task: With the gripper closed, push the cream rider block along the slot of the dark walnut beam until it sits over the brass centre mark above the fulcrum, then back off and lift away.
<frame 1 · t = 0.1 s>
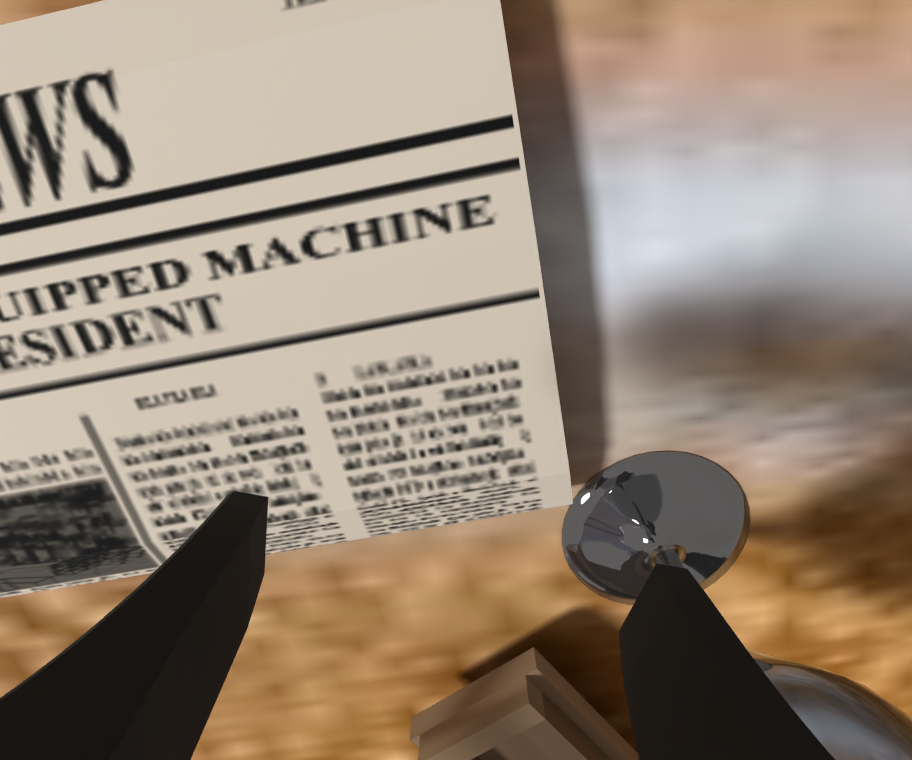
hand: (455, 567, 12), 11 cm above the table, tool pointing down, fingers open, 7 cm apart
wine glass: (653, 529, 24), on the table
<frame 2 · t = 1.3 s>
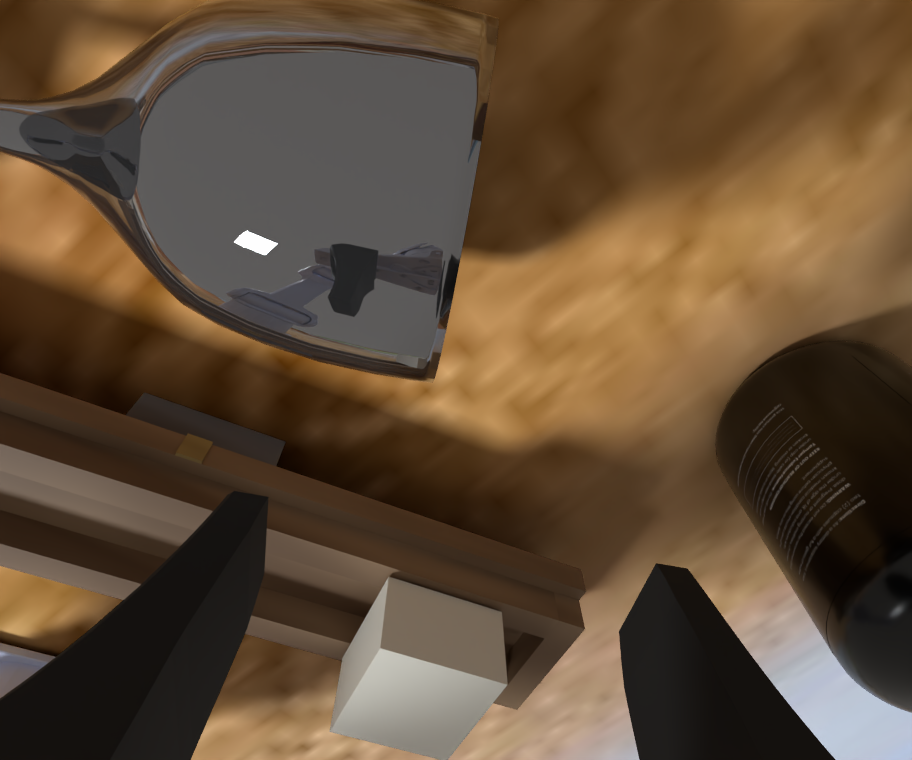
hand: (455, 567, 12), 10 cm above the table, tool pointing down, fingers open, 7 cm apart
rider: (418, 653, 21), point 5 cm above the table, slide at -9.0 cm
beam: (200, 469, 23), on the table
supplement bottle: (806, 416, 22), on the table
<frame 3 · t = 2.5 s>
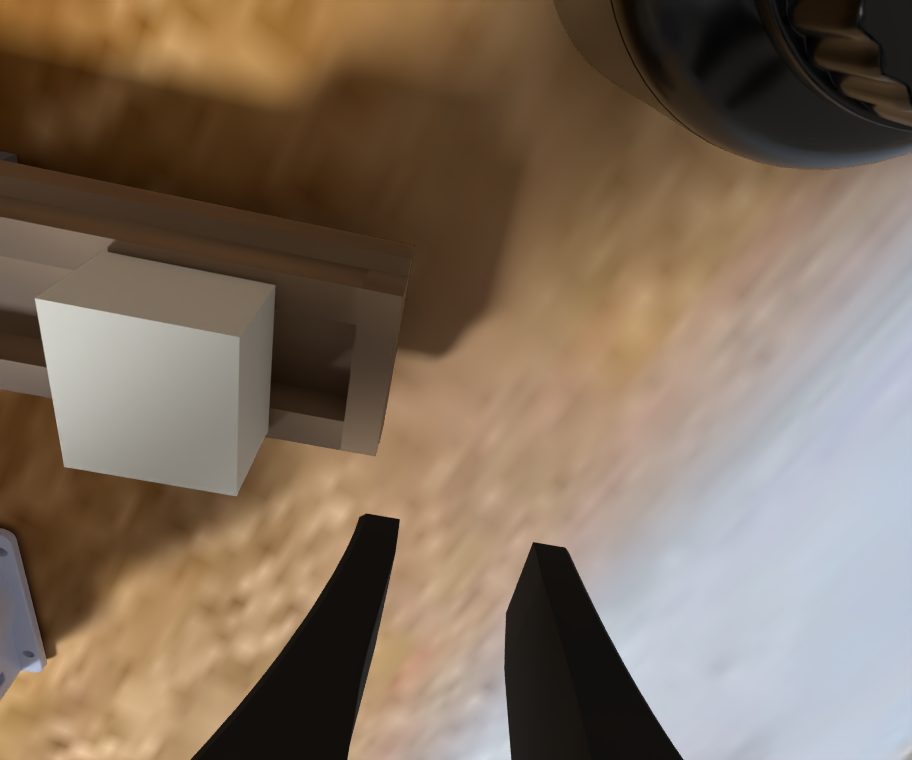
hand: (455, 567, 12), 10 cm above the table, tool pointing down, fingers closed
rider: (180, 362, 15), point 5 cm above the table, slide at -9.0 cm
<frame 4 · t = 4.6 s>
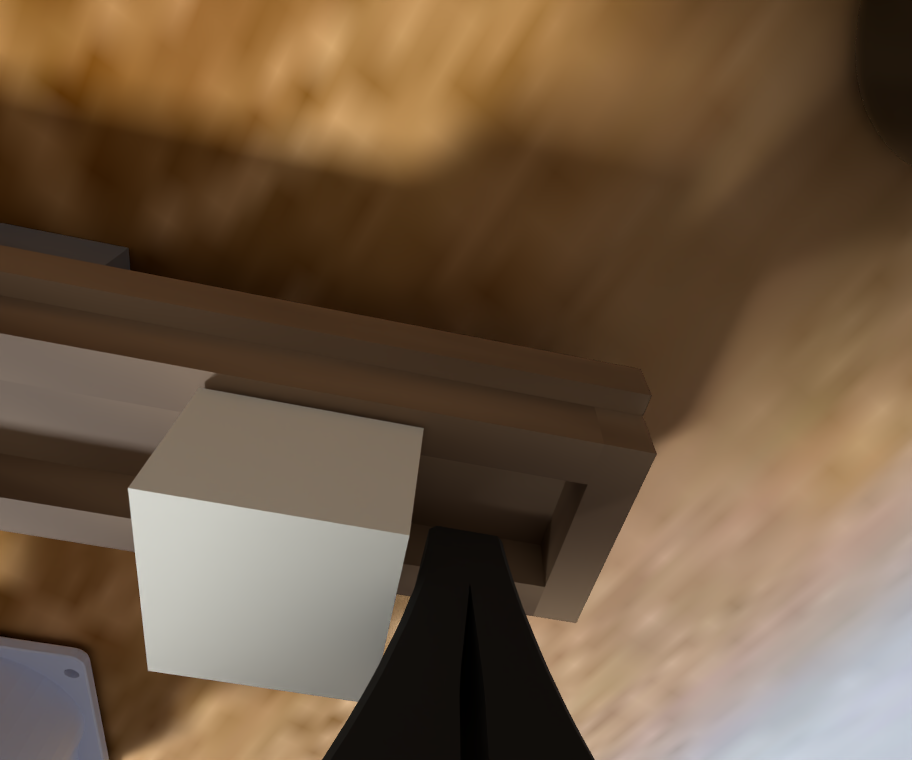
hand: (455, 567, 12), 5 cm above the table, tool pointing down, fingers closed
rider: (295, 524, 12), point 5 cm above the table, slide at -7.7 cm, touching gripper
beam: (32, 323, 15), on the table
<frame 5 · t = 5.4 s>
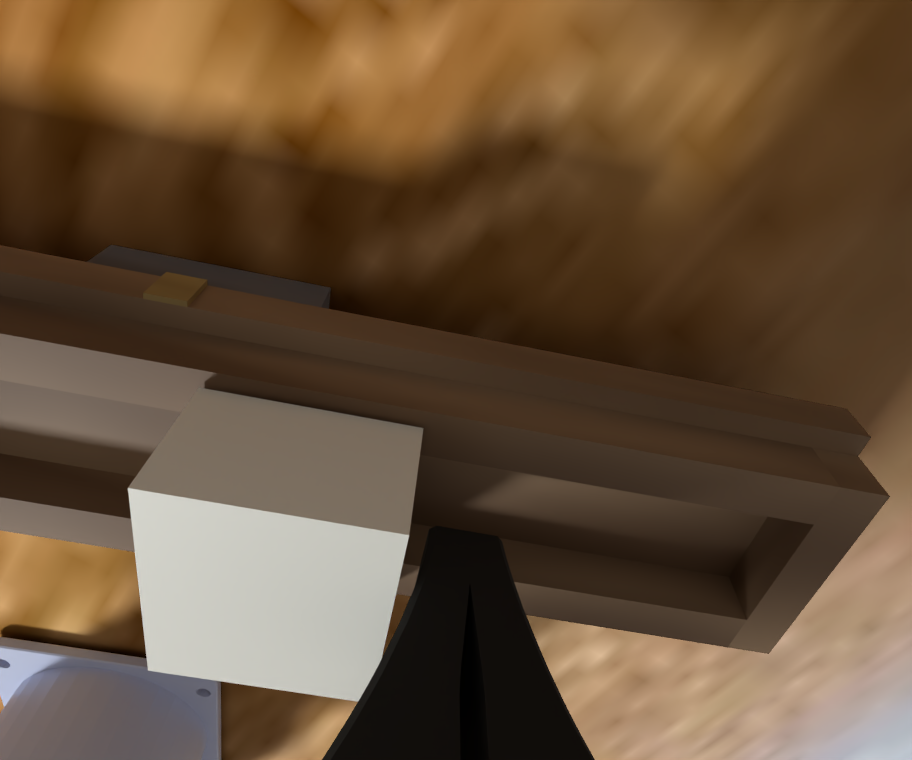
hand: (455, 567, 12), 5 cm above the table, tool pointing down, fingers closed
rider: (295, 524, 12), point 5 cm above the table, slide at -3.1 cm, touching gripper
beam: (222, 358, 16), on the table
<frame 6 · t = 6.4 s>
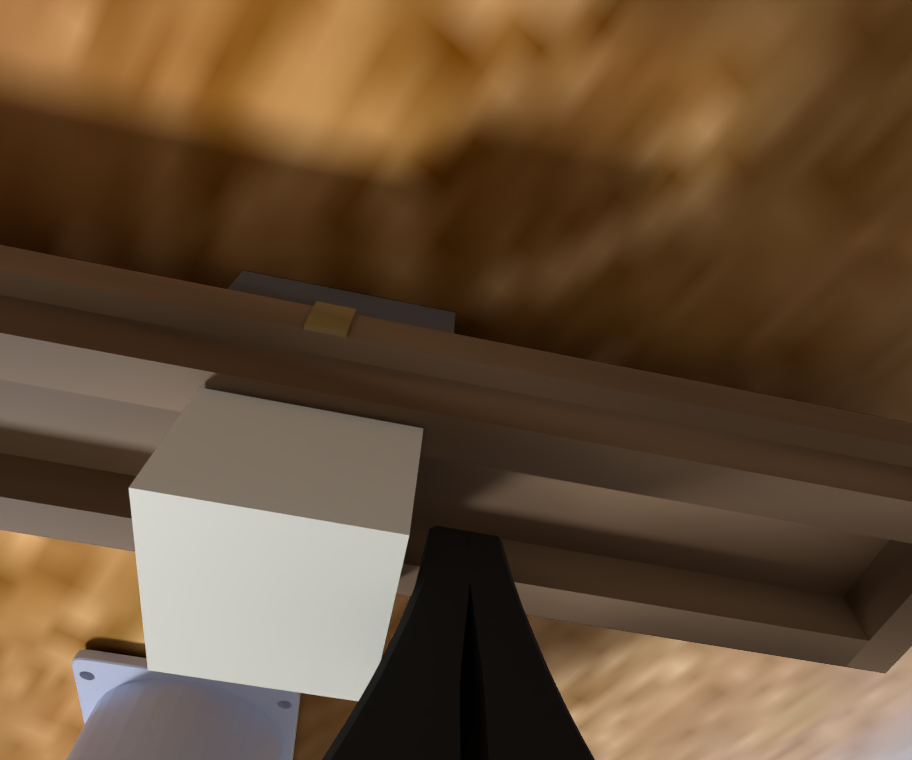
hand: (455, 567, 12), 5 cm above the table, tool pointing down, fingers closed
rider: (295, 523, 12), point 5 cm above the table, slide at -0.1 cm, touching gripper
beam: (339, 380, 16), on the table
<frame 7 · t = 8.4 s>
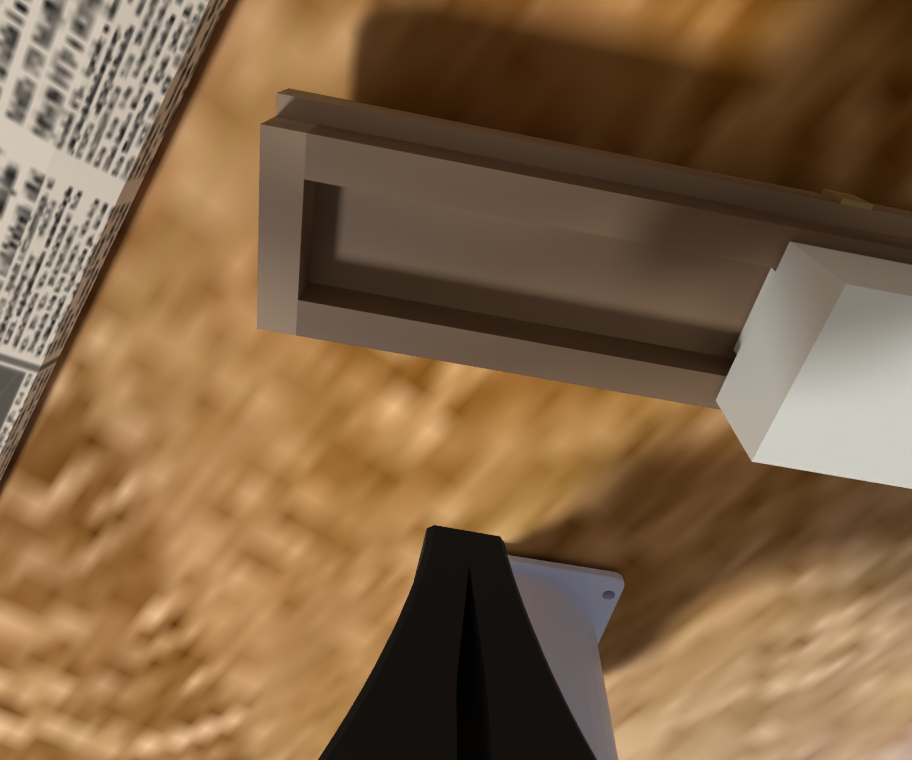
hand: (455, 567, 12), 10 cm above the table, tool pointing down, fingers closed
rider: (840, 354, 15), point 5 cm above the table, slide at -0.1 cm
beam: (757, 276, 19), on the table
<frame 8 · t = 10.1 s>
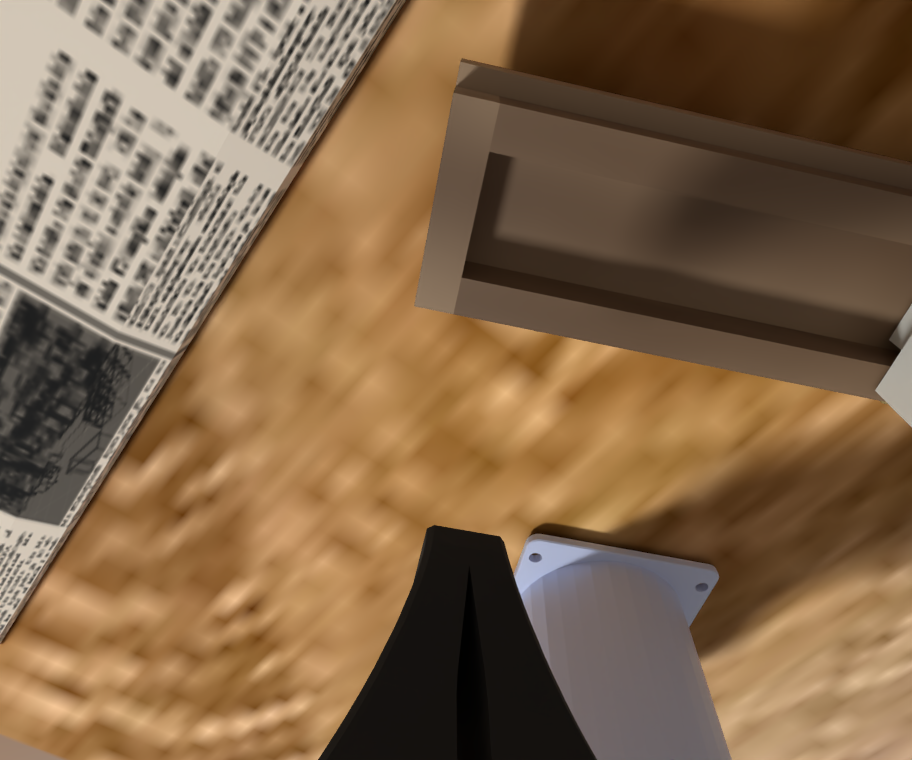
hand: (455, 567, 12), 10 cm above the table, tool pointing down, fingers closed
beam: (896, 266, 19), on the table
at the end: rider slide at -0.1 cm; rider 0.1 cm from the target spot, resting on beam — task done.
